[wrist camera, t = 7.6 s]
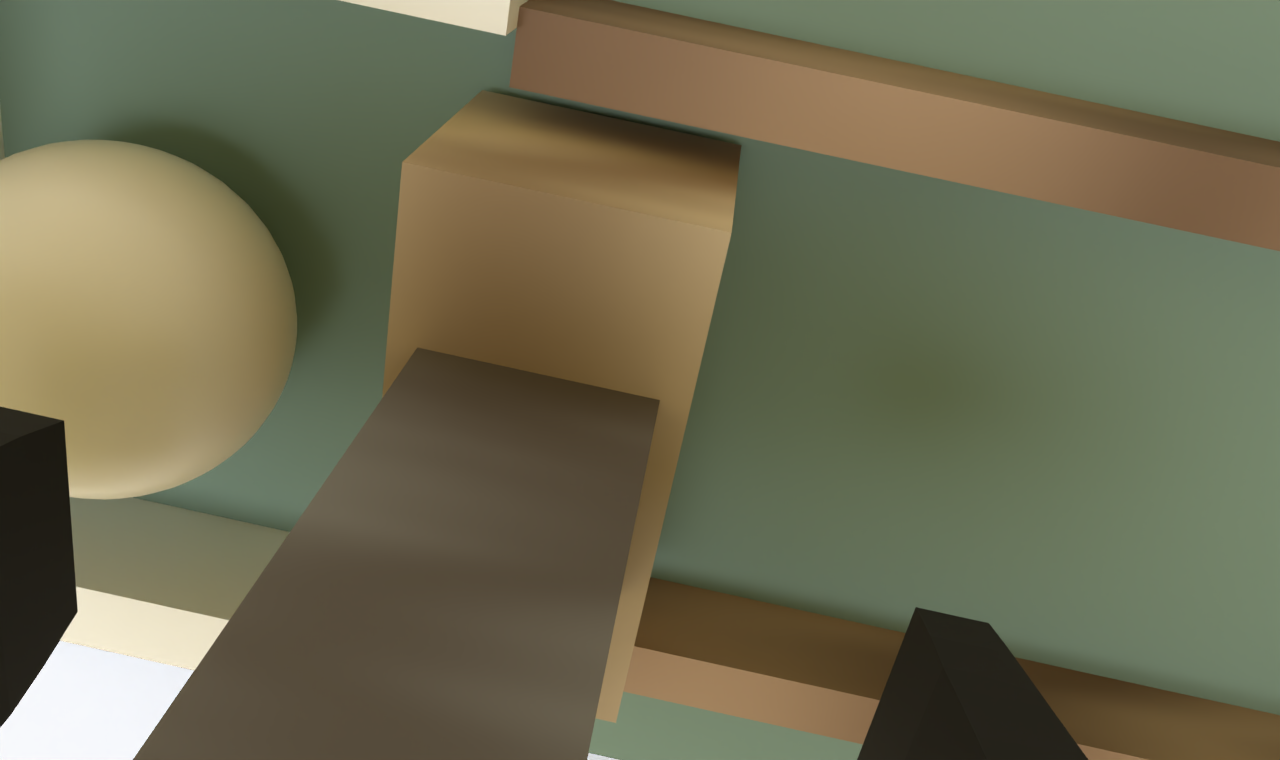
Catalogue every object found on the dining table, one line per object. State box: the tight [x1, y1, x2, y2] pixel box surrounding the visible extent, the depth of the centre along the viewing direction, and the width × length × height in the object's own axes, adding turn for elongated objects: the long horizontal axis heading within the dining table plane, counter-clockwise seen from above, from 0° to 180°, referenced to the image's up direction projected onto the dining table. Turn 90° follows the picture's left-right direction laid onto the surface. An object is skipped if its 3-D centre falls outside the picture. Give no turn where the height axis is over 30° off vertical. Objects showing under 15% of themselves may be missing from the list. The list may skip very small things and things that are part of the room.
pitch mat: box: [0, 0, 1280, 760], centre depth 14 cm, size 24×14×1 cm, turn 80°
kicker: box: [133, 90, 741, 760], centre depth 10 cm, size 3×6×9 cm, turn 170°
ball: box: [0, 140, 297, 500], centre depth 12 cm, size 4×4×4 cm
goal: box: [0, 0, 528, 670], centre depth 12 cm, size 8×10×5 cm
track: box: [509, 0, 1280, 760], centre depth 14 cm, size 15×8×2 cm, turn 80°
